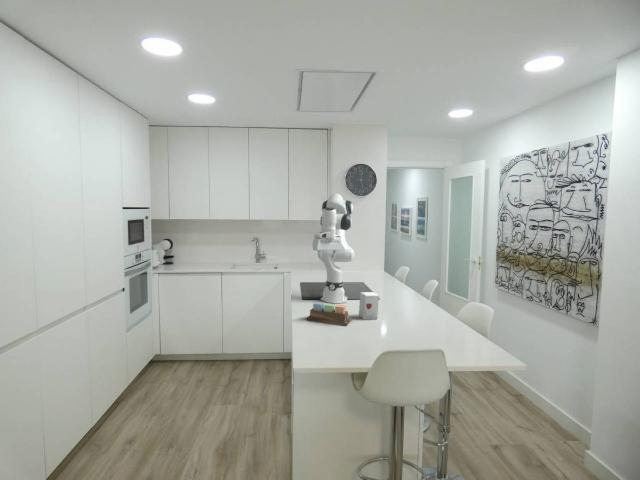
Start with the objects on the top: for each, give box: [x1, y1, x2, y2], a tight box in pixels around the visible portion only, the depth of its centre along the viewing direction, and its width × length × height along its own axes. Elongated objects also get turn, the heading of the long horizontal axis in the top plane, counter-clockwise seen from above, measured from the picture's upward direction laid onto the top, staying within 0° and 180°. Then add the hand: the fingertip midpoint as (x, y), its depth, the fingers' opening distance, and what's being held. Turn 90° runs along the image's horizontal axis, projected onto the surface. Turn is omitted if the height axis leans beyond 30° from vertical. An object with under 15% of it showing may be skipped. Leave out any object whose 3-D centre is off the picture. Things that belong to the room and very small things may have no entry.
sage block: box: [324, 302, 336, 313], centre depth 230 cm, size 5×5×5 cm
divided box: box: [305, 307, 352, 327], centre depth 230 cm, size 10×24×6 cm, turn 73°
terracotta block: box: [335, 304, 347, 314], centre depth 228 cm, size 5×5×5 cm
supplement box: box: [358, 291, 380, 321], centre depth 241 cm, size 9×9×15 cm
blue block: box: [312, 301, 325, 311], centre depth 232 cm, size 5×5×5 cm
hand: (327, 258), depth 235 cm, fingers open, 8 cm apart
